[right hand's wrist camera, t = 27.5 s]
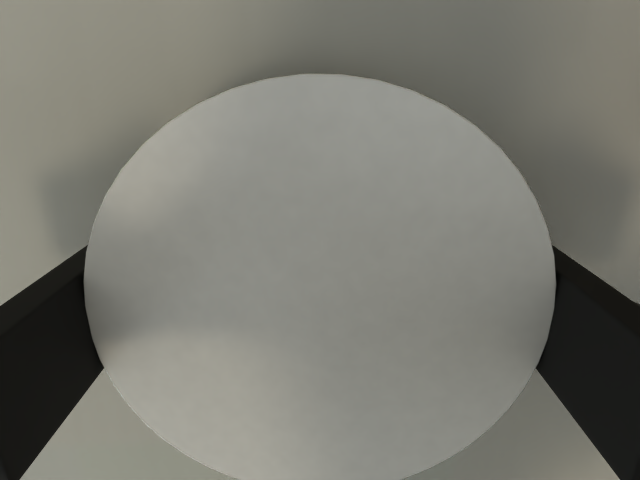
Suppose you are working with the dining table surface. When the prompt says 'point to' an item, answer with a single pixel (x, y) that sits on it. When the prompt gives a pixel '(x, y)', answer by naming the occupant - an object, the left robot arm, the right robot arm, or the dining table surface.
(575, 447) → the dining table surface
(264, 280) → the lid
